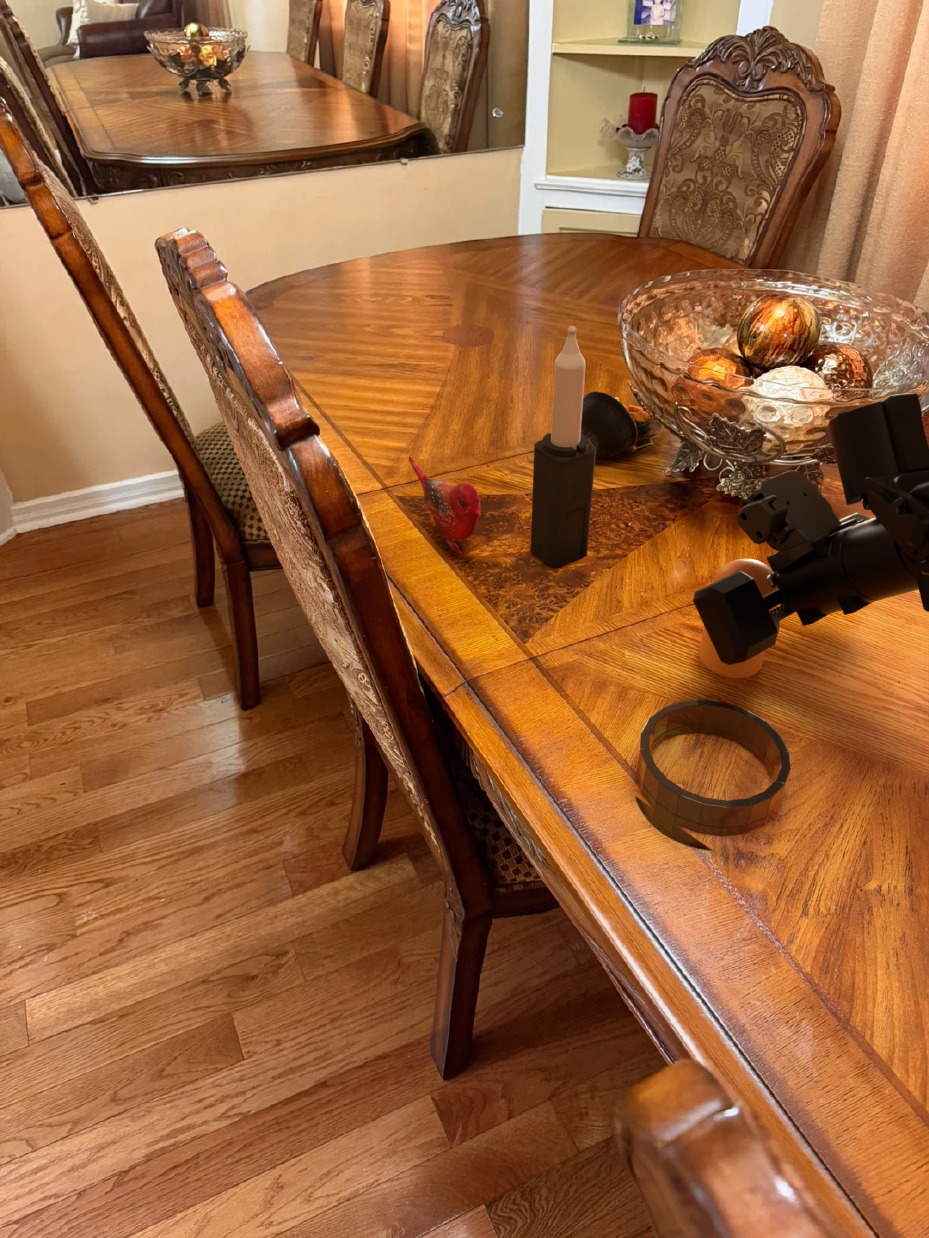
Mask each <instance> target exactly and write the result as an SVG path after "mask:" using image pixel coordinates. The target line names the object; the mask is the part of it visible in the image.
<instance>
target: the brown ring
mask: <svg viewBox="0 0 929 1238" xmlns="http://www.w3.org/2000/svg"><path fill="white" fill-rule="evenodd" d="M693 734H700V735H708V736H716V737H718V738H721V739H724V740H727V741H730V742H734V743H735V744H737V745H739V746H740V747H742V748H744V749H745V750H747V751H748V752H750V753H751V754H752V755H753V756H754V757H755V758H756V759H757V760H758V761H759V762H760V763H761V764H762V765H763V767H764V769H765V770H766V772H767V774H768V776H769V778H770V780H771V785H769V786H768V787H767V788H766V789H765V790H764V791H762V792H759V793H757V794H755V795H752V796H750V797H747V798H737V799H730V800H729V799H728V800H727V799H726V800H725V799H719V798H710V797H705V796H701V795H699V794H696V793H693V792H691V791H688V790H687V789H684V788H683V787H681V786H679V785H677V784H676V783H675V782H674V781H672V780H670V779H669V778H667V776H666V775H665V774H664V773H663V772H662V770H660V768H659V767H658V766H657V765H656V763H655V760H654V758H653V756H652V751H654V750H655V749H656V748H657V747H658V746H659V745H661V744H662V743H663V742H665V741H668V740H670V739H672V738H675V737H678V736H684V735H693ZM791 770H792V765H791V758H790V751H789V749H788V748H787V746H786V744H785V742H784V740H783V738H782V737H781V734H780V733H778V732H777V731H776V730H775V729H774V728H773V727H772V726H771V725H770V724H769V723H768V722H767V721H766V720H764V719H763V718H761V717H760V716H758V715H756V714H754V713H753V712H751V711H749V710H747V709H745V708H743V707H740V706H737V705H734V704H730V703H728V702H725V701H719V700H710V699H693V700H691V699H690V700H682V701H678V702H675V703H672V704H670V705H666V706H664V707H662V708H661V709H659V710H658V711H657V712H656V713H654V714H653V715H652V716H650V717H649V719H647V721H646V723H645V724H644V726H643V728H642V730H641V732H640V736H639V743H638V749H637V755H636V763H635V779H636V782H637V786H638V788H639V791H640V793H641V795H642V797H643V798H644V799H645V800H646V802H648V803H646V802H645V801H643V800H642V799H641V798H640V797H637V795H634V798H635V800H636V803H637V805H638V807H639V809H640V812H641V813H642V815H643V816H644V817H645V818H646V820H647V821H648V822H649V823H650V824H651V825H652V826H653V827H654V828H655V829H656V830H657V831H659V832H660V833H662V834H663V835H665V836H666V837H667V838H670V839H671V840H673V841H676V842H677V843H679V844H682V845H684V846H687V847H690V848H694V849H698V850H704V851H713V849H712V848H710V847H708V845H705V844H704V842H701V841H700V840H698V839H697V838H696V837H694V836H693V835H691V834H690V833H688V832H687V830H688V831H691V832H693V833H697V834H700V835H709V836H715V837H729V836H737V835H745V834H748V833H750V832H753V831H754V830H758V829H759V828H762V827H764V826H765V825H766V824H767V823H768V822H769V821H770V820H771V819H772V818H773V817H774V816H775V815H776V814H777V813H778V810H779V807H780V804H781V802H782V799H783V796H784V792H785V789H786V786H787V783H788V779H789V776H790V773H791ZM684 829H685V830H684Z"/></svg>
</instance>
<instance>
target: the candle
mask: <svg viewBox="0 0 929 1238" xmlns="http://www.w3.org/2000/svg"><path fill="white" fill-rule="evenodd" d="M566 331H567V337H566V339H565V342H564V345H563V347H562V350H561V351H560V353H559V354H558V356H557V357H556V358H555V360H554V369H553V388H552V406H551V407H552V410H551V430H550V431H551V432H548V433H546V434H545V435H543V437H542V439H540V440H537V441H536V442H535V443H534V446H533V466H532V467H533V469H532V474H533V475H532V494H531V495H532V496H531V497H532V498H531V521H530V522H531V523H530V524H531V525H530V549H529V550H530V552H531V553H532V554H533V555H534V556H535V557H537V559H539V560H540V561H542V562H543V563H544V564H545V565H546V566H548V567H550V568H554V569H560V568H563V567H564V566H566V565H568V564H570V563H574V562H576V561H579V560H582V559H585V558H586V557H587V556H588V549H589V536H590V525H591V514H592V501H593V489H594V479H595V478H594V477H595V465H596V457H595V456H596V448H595V447H594V446H593V445H591V444H590V443H588V439H587V437H586V436H585V435H583V434H581V421H582V407H583V398H584V391H585V378H586V360H585V358H584V356H583V354H582V353H581V351H580V348H579V343H578V339H577V335H576V334H577V331H578V329H577V327H576V326H575V325H570V326H569V327H568V328H567V330H566Z"/></svg>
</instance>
